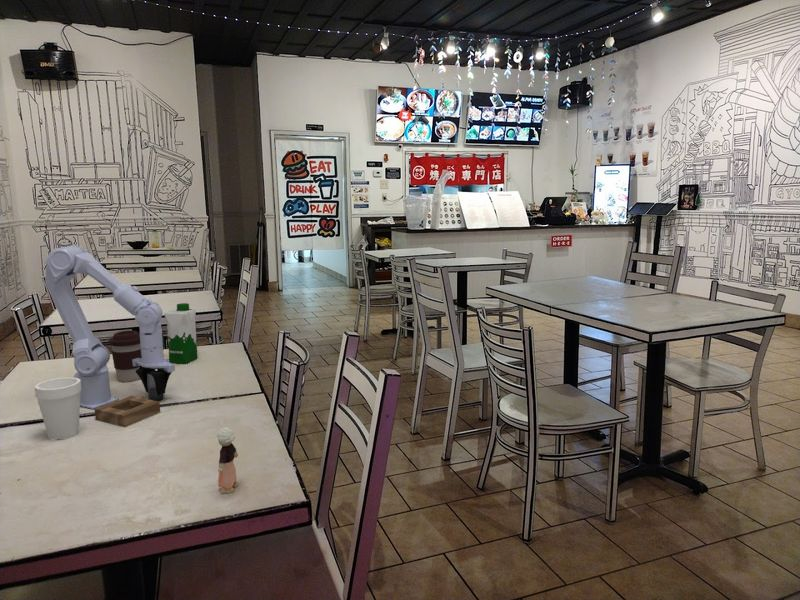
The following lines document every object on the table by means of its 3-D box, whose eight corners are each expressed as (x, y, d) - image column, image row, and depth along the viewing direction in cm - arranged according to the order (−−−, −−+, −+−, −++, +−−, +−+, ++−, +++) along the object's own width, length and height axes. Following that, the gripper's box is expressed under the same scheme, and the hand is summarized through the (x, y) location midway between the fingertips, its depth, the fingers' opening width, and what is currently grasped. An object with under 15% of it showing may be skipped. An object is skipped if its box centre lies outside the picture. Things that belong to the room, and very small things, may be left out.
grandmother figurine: (222, 480, 116) (219, 421, 114) (241, 479, 116) (238, 420, 114) (213, 499, 108) (209, 437, 106) (234, 498, 109) (230, 436, 106)
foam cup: (94, 429, 141) (89, 379, 139) (61, 445, 132) (55, 391, 130) (65, 425, 144) (60, 375, 142) (31, 439, 135) (25, 387, 133)
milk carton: (201, 358, 204) (197, 303, 200) (188, 365, 195) (184, 308, 191) (178, 357, 205) (175, 302, 202) (164, 364, 196) (160, 307, 193)
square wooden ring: (95, 419, 147) (94, 408, 147) (131, 406, 157) (130, 395, 156) (125, 427, 143) (124, 415, 142) (160, 412, 152) (159, 401, 152)
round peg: (145, 400, 161) (143, 373, 160) (156, 396, 165) (154, 369, 163) (155, 403, 159) (153, 375, 158) (166, 398, 163) (164, 371, 161)
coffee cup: (153, 377, 182) (149, 331, 179) (124, 385, 174) (120, 338, 171) (135, 372, 187) (131, 328, 185) (106, 380, 179) (101, 334, 176)
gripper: (182, 346, 160) (185, 392, 162) (145, 340, 166) (149, 385, 168) (161, 352, 153) (165, 400, 156) (124, 346, 160) (128, 392, 162)
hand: (155, 392), depth 162 cm, fingers closed on round peg, 4 cm apart
